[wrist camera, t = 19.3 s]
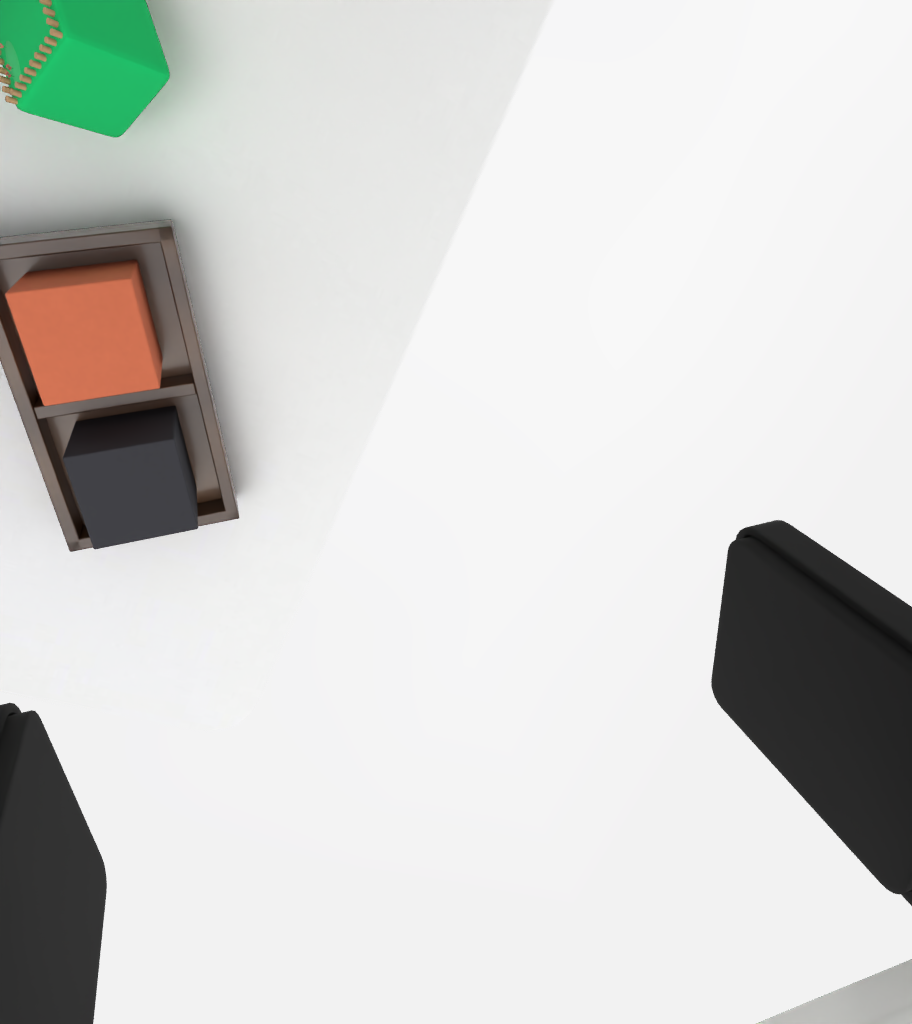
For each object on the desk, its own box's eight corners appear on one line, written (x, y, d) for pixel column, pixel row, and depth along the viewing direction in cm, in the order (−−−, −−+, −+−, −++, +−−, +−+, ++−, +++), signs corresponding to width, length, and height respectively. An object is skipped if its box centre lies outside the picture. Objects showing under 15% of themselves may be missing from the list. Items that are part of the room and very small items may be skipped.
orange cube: (25, 272, 32) (3, 293, 28) (137, 259, 33) (131, 277, 29) (59, 374, 34) (43, 407, 30) (163, 359, 35) (160, 388, 31)
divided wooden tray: (-27, 239, 32) (-42, 248, 30) (172, 219, 34) (171, 225, 32) (76, 528, 38) (69, 552, 36) (236, 497, 40) (239, 518, 38)
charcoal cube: (74, 420, 35) (61, 457, 31) (175, 404, 36) (174, 438, 32) (102, 505, 37) (93, 550, 34) (197, 488, 38) (198, 529, 35)
